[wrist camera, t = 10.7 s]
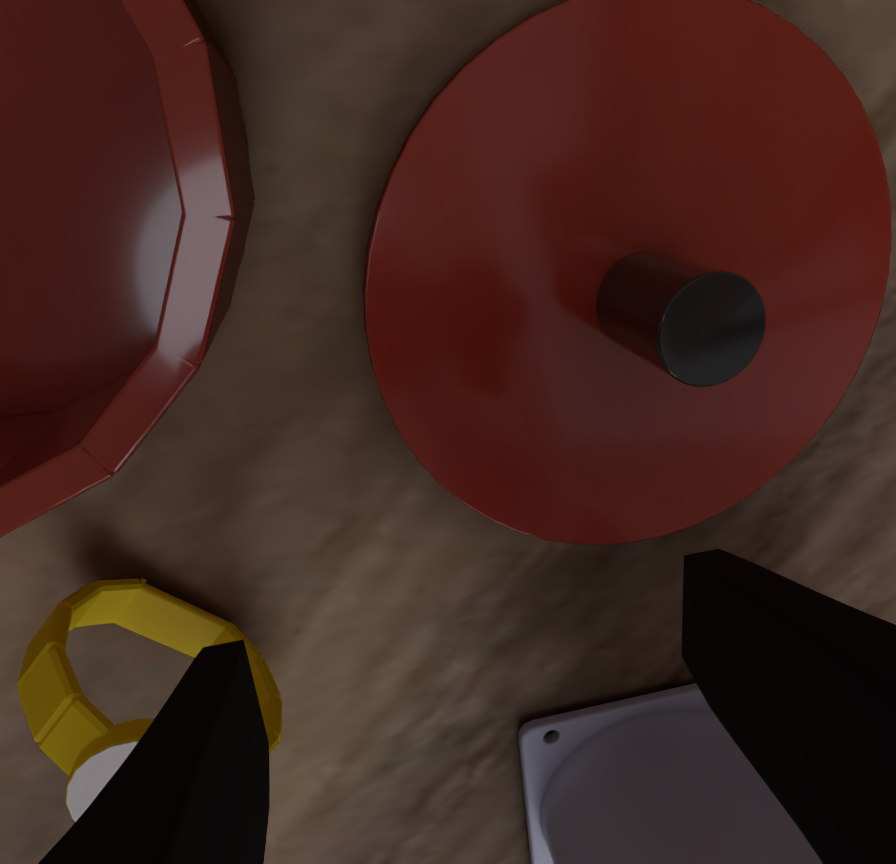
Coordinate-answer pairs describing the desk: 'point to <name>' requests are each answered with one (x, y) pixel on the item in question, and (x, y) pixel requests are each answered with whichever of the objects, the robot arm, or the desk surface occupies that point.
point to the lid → (627, 266)
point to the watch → (75, 718)
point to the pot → (108, 231)
